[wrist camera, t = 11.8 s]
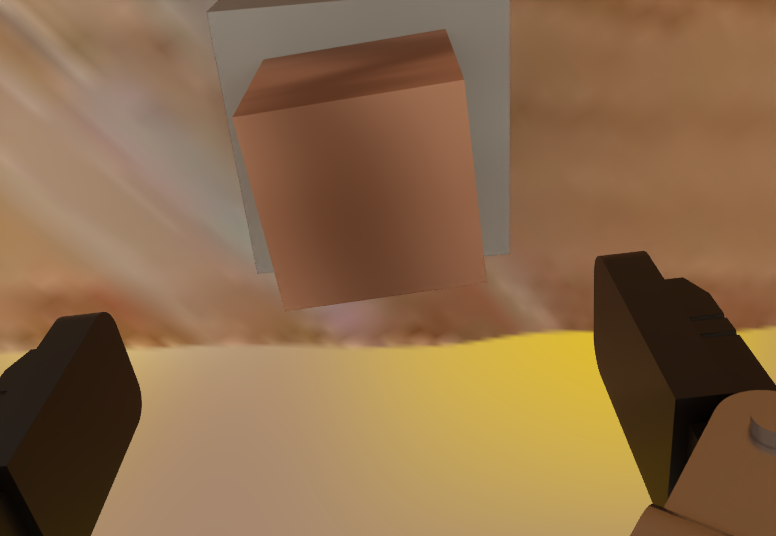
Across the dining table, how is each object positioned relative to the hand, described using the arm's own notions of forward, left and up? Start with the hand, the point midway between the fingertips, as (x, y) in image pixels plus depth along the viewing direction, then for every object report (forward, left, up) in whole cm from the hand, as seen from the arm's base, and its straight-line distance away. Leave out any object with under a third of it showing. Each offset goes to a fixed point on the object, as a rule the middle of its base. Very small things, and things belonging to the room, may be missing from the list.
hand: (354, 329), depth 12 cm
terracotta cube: (0, 0, -10) cm, 10 cm away
